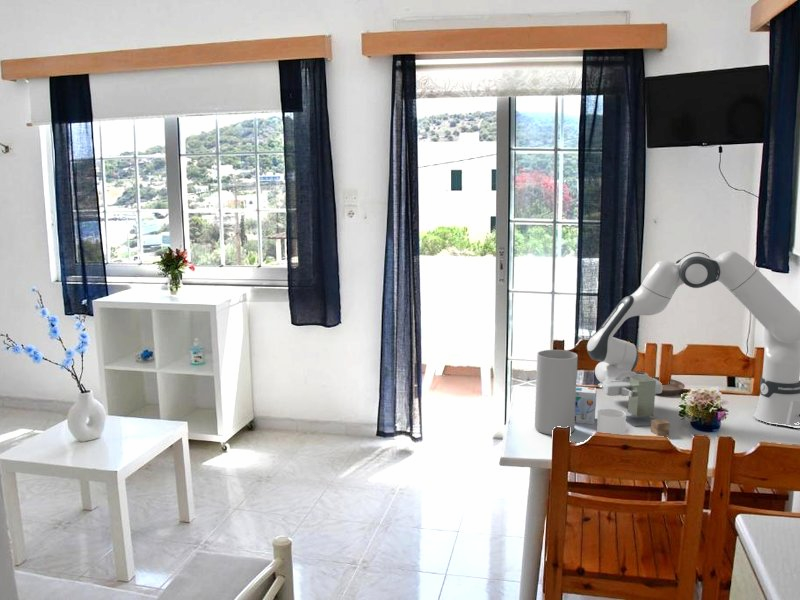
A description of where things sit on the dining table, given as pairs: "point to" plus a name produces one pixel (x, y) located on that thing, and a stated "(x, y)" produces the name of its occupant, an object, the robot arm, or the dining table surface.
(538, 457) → the dining table surface
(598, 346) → the robot arm
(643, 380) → the sage green pillar
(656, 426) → the walnut block
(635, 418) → the slate mat
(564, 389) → the cylinder vase
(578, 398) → the light bulb box
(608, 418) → the cup
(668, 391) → the plant saucer
